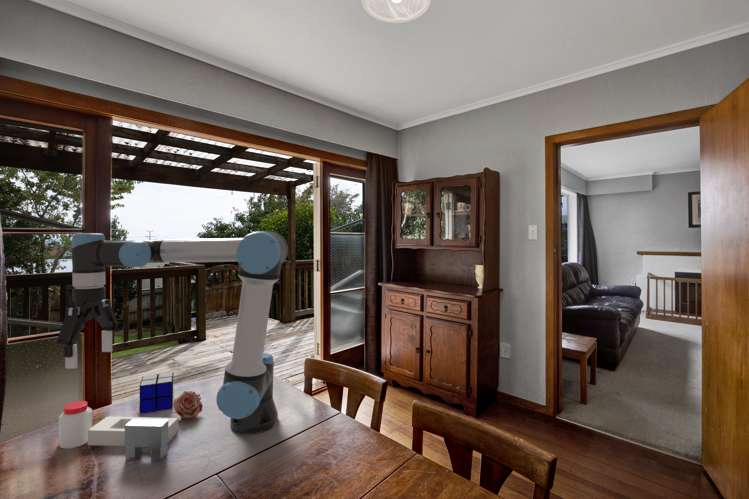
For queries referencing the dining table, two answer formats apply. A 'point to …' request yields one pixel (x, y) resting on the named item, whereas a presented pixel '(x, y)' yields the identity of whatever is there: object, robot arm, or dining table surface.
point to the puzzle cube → (156, 392)
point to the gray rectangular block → (146, 438)
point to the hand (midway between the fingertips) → (90, 359)
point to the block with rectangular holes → (121, 430)
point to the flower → (188, 405)
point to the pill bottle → (74, 424)
